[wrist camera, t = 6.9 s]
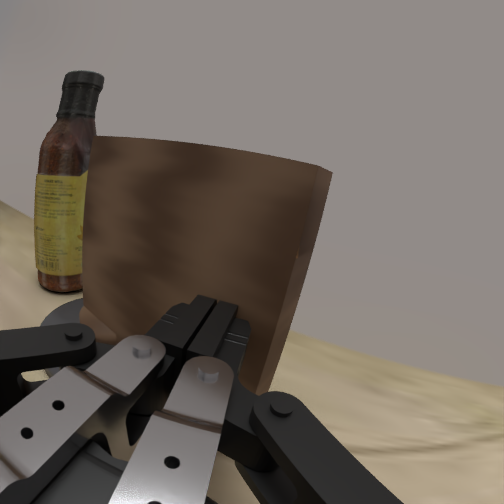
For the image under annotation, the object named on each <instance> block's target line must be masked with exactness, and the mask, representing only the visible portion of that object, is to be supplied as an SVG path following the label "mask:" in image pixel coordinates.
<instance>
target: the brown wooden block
mask: <svg viewBox="0 0 504 504" xmlns="http://www.w3.org/2000/svg"><path fill="white" fill-rule="evenodd" d="M331 178H332V172H331V171H328V170H326V169H324V168H322V167H320V166H317V165H313V164H309V163H304V162H299V161H295V160H291V159H286V158H280V157H275V156H271V155H265V154H260V153H255V152H249V151H243V150H237V149H230V148H224V147H217V146H210V145H203V144H195V143H186V142H178V141H168V140H157V139H144V138H130V137H112V136H111V137H110V136H93V141H92V147H91V153H90V160H89V167H88V175H87V183H86V192H85V204H84V217H83V239H82V282H83V304H84V306H83V307H82V308H81V310H80V313H79V319H80V323H81V324H84V325H87V326H89V327H90V328H91V329H92V330H93V331H94V333H95V339H96V342H99V343H104V344H110V345H117V344H118V343H119V342H121V341H122V340H123V339H125V338H126V337H129V336H133V335H145V334H146V333H147V332H148V331H149V330H150V329H151V328H152V327H153V326H154V325H155V323H156V322H157V321H158V320H159V319H161V317H162V316H163V315H164V314H166V312H167V311H168V310H169V309H170V308H171V307H172V306H174V305H177V304H180V303H186V304H190V303H191V302H192V301H193V300H194V299H195V297H196V296H197V295H198V294H199V295H203V296H206V297H210V298H213V299H217V303H218V302H219V300H221V301H224V302H228V303H232V304H236V305H238V310H237V315H236V318H239V319H243V320H246V321H248V322H249V324H250V327H251V333H250V337H249V341H248V345H247V349H246V353H245V357H244V361H243V364H242V367H241V370H240V373H239V376H238V379H239V381H240V383H241V384H242V385H243V386H244V387H245V388H246V389H247V390H249V391H251V392H252V393H254V394H256V395H258V396H260V395H261V394H263V393H266V392H268V390H269V388H270V385H271V382H272V379H273V376H274V374H275V371H276V368H277V365H278V362H279V359H280V356H281V353H282V350H283V347H284V344H285V341H286V338H287V335H288V332H289V329H290V325H291V323H292V320H293V316H294V313H295V310H296V307H297V303H298V300H299V297H300V293H301V290H302V287H303V283H304V280H305V277H306V273H307V270H308V266H309V263H310V259H311V256H312V252H313V248H314V245H315V241H316V237H317V234H318V230H319V226H320V222H321V218H322V214H323V211H324V206H325V202H326V198H327V194H328V190H329V186H330V181H331Z"/></svg>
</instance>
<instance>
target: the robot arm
mask: <svg viewBox="0 0 504 504" xmlns="http://www.w3.org/2000/svg"><path fill="white" fill-rule="evenodd" d="M237 310H238V305H236V304H232V303H228V302H224V301H221V300H219V302H218V303H217V299H213V298H210V297H206V296H203V295H199V294H198V295H197V296H196V297H195V299H194V300H193V301H192V302H191V303H190V304H186V303H180V304H177V305H174V306H172V307H171V308H170V309H169V310H168V311H167V312H166V314H164V315H163V316H162V317H161V319H159V320H158V321H157V322H156V323H155V325H154V326H153V327H152V328H151V329H150V330H149V331H148V332H147V333H146V334H145V335H133V336H129V337H126V338H125V339H123V340H122V341H121V342H119V343H118V344H117V345H110V344H104V343H99V342H96V339H95V333H94V331H93V330H92V329H91V328H90V327H89V326H87V325H84V324H81V323H65V324H57V325H49V326H40V327H31V328H22V329H12V330H1V331H0V504H218V503H216V502H215V501H213V500H212V499H210V498H209V497H207V496H206V494H207V490H208V486H209V482H210V478H211V473H212V469H213V465H214V461H215V457H216V452H217V450H218V451H219V452H221V453H223V454H224V455H226V456H228V457H230V458H231V459H233V460H235V465H236V467H237V469H238V471H239V473H240V474H241V476H242V477H243V479H244V480H245V482H246V483H247V485H248V486H249V488H250V489H251V491H252V492H253V494H254V495H255V497H256V498H257V500H258V501H259V502H260V504H404V503H402V502H401V501H400V500H399V499H398V498H397V497H396V496H395V495H394V494H392V493H391V492H390V491H389V490H388V489H387V488H386V487H385V486H384V485H383V484H382V483H381V482H379V481H378V480H377V479H376V478H375V477H374V476H373V475H372V474H371V473H370V472H369V471H368V470H367V469H366V468H365V467H364V466H363V465H362V464H361V463H360V462H359V461H358V460H357V459H356V458H355V457H354V456H353V455H352V454H351V453H350V452H349V451H348V450H347V449H346V448H345V447H344V446H343V445H342V444H341V443H340V442H339V441H338V440H337V439H336V438H335V437H334V436H333V435H332V434H331V433H330V432H329V431H328V430H327V429H326V428H325V427H324V426H323V425H322V423H321V422H320V421H319V420H318V419H317V418H316V417H315V416H314V415H313V414H312V413H311V412H310V411H309V410H308V408H307V407H306V406H305V405H304V404H303V403H302V402H301V401H300V400H299V399H297V398H296V397H294V396H292V395H290V394H287V393H284V392H277V391H272V392H266V393H263V394H261V395H260V396H258V395H256V394H254V393H252V392H251V391H249V390H247V389H246V388H245V387H244V386H243V385H242V384H241V383H240V381H239V379H238V376H239V373H240V370H241V367H242V364H243V361H244V357H245V353H246V349H247V345H248V341H249V337H250V333H251V327H250V324H249V322H248V321H246V320H243V319H239V318H236V315H237ZM55 367H59V369H60V371H59V372H57V373H56V374H55V375H54V376H52V377H51V378H50V379H48V380H43V381H36V382H29V381H26V380H25V379H24V378H23V377H22V375H21V373H22V372H26V371H34V370H42V369H49V368H55Z"/></svg>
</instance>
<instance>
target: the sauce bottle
mask: <svg viewBox="0 0 504 504" xmlns="http://www.w3.org/2000/svg"><path fill="white" fill-rule="evenodd" d="M103 83H104V77H103V76H102V75H101V74H99V73H96V72H92V71H84V70H83V71H82V70H81V71H71V72H68V73H67V74H66V75H65V78H64V82H63V85H62V91H63V92H62V98H61V101H60V105H59V110H58V112H57V114H56V117H57V121H56V123H55V124H54V125H53V127H52V128H51V130H50V131H49V132H48V133H47V135H46V137H45V139H44V140H43V142H42V145H41V148H40V155H39V166H38V174H37V176H36V187H35V209H34V213H35V214H34V237H35V259H36V268H37V269H38V280H39V282H40V284H41V285H42V286H43V287H45V288H47V289H49V290H52V291H57V292H69V291H76V290H80V289H82V288H83V282H82V239H83V217H84V204H85V192H86V183H87V175H88V167H89V160H90V153H91V147H92V141H93V136H97V135H96V127H95V111H96V106H97V102H98V97H99V94H100V92H101V90H102V89H103Z"/></svg>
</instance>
